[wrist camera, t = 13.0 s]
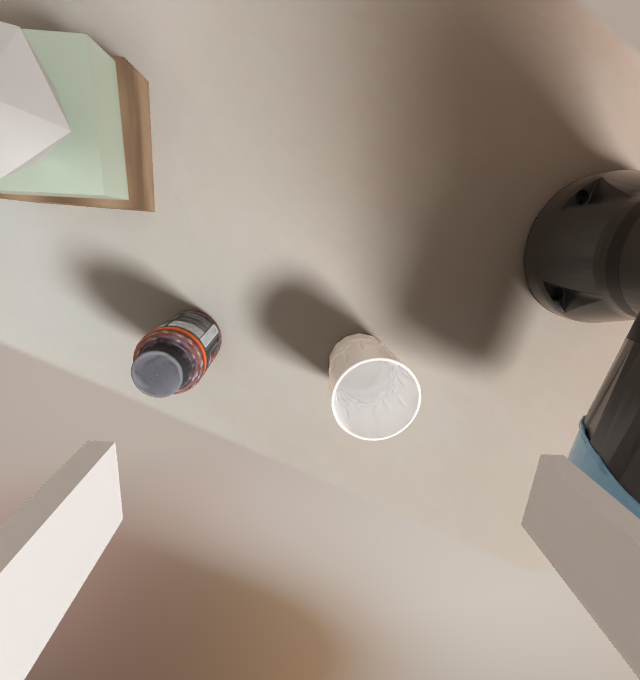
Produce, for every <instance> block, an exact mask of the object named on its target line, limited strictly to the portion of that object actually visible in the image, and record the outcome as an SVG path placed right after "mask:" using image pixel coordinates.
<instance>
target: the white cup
mask: <svg viewBox="0 0 640 680" xmlns="http://www.w3.org/2000/svg"><path fill="white" fill-rule="evenodd" d="M329 388H330V398H331V408H332V412H333V415H334V418H335V419H336V421H337V423H338V424H339V425H340V427H341V428H342V429H343V430H345V431H346V432H347V433H349V434H350V435H352V436H354V437H357V438H360V439H364V440H382V439H386V438H389V437H392V436H394V435H396V434H398V433H400V432H401V431H403V430H404V429H405V428H406V427H407V426H408V425H409V424H410V423H411V422H412V421H413V419H414V418H415V416H416V414H417V412H418V410H419V406H420V402H421V391H420V386H419V383H418V380H417V378H416V377H415V375H414V374H413V372H412V371H411V370H410V369H409V368H408V367H407V366H406V365H405V364H404V363H403V362H402V361H401V360H400V359H399V358H398V357H397V356H396V355H395V354H394V353H393V352H392V351H391V350H390V349H389V348H387V347H386V346H385V345H384V344H382V343H381V342H380V341H378V340H377V339H376V338H375V337H373V336H370V335H366V334H361V333H358V334H354V335H350V336H346V337H345V338H343V339H342V340H341V341H339V342H338V343H337V344H336V345H335V346H334V348H333V350H332V352H331V354H330V356H329Z"/></svg>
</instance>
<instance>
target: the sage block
mask: <svg viewBox="0 0 640 680" xmlns="http://www.w3.org/2000/svg"><path fill="white" fill-rule="evenodd" d="M21 30H22V31H23V33H24V35H25V37H26V38H27V40H28V42H29V43H30V45H31V47H32V49H33V50H34V52H35V54H36V55H37V57H38V59H39V61H40V62H41V64H42V66H43V67H44V69H45V71H46V73H47V74H48V76H49V78H50V79H51V81H52V83H53V85H54V87H55V90H56V93H57V95H58V98H59V100H60V103H61V106H62V108H63V111H64V113H65V116H66V118H67V121H68V124H69V126H70V129H71V132H70V133H69V134H68V135H67V136H66V137H65V138H64V139H63V140H62V141H61V142H60V143H59V144H58V145H57V146H56V147H55V148H54V149H53V150H52V151H51V152H50V153H49V154H48V155H47V156H46V157H45V158H44V159H43V160H42V161H40V162H38V163H35V164H33V165H31V166H28V167H26V168H24V169H22V170H19V171H17V172H15V173H12V174H10V175H8V176H6V177H3V178H0V193H1V194H16V195H36V196H56V197H76V198H96V199H115V200H129V195H128V185H127V175H126V164H125V154H124V144H123V134H122V124H121V114H120V104H119V93H118V83H117V73H116V63H115V60H114V59H112V58H111V57H110V56H109V55H108V54H107V53H106V52H105V51H104V50H103V49H102V48H101V47H100V46H99V45H98V44H96V43H95V42H94V41H93V40H92V39H91V38H90V37H89V36H88V35H87V34H84V33H71V32H58V31H46V30H33V29H21Z"/></svg>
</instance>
